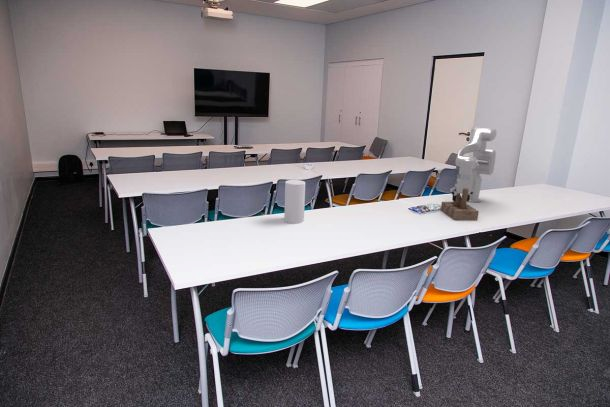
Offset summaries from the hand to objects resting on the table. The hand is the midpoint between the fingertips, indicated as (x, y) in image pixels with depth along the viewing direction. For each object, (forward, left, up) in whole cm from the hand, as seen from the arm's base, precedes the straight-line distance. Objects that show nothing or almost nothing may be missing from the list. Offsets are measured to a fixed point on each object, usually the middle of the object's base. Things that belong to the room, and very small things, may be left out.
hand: (460, 200), depth 276 cm
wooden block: (0, 0, -9) cm, 9 cm away
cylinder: (+12, -116, -11) cm, 117 cm away
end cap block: (0, 0, -10) cm, 10 cm away
